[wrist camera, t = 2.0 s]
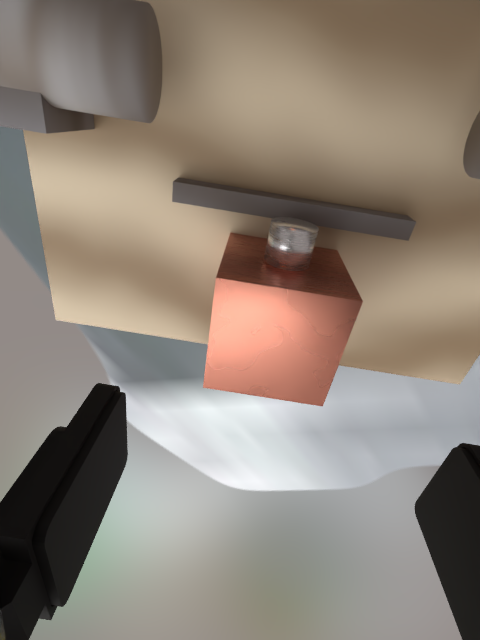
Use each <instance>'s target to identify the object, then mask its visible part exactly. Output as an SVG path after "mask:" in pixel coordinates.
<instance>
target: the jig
mask: <svg viewBox="0 0 480 640" xmlns="http://www.w3.org/2000/svg"><path fill="white" fill-rule="evenodd" d="M0 126H3V127H9V128H15V129H21V130H23V132H24V138H25V143H26V149H27V155H28V161H29V167H30V172H31V178H32V184H33V190H34V196H35V201H36V207H37V213H38V219H39V225H40V230H41V236H42V242H43V248H44V254H45V259H46V265H47V271H48V277H49V283H50V288H51V294H52V300H53V306H54V312H55V317H56V320H59V321H66V322H72V323H78V324H84V325H91V326H97V327H103V328H109V329H116V330H122V331H128V332H134V333H141V334H147V335H153V336H159V337H166V338H172V339H178V340H185V341H191V342H197V343H203V344H208V342H209V333H210V324H211V316H212V307H213V298H214V290H215V281H216V276H217V273H218V269H219V266H220V263H221V260H222V257H223V254H224V251H225V248H226V244H227V241H228V238H229V235H230V233H236V234H242V235H249V236H255V237H261V238H267V239H268V235H269V230H270V224H271V220H272V219H273V218H276V217H290V218H296V219H300V220H304V221H307V222H310V223H312V224H314V225H316V226H317V227H318V228H319V230H318V234H317V238H316V241H315V245H314V246H315V247H322V248H328V249H334V250H337V251H338V253H339V255H340V257H341V259H342V261H343V263H344V265H345V267H346V269H347V271H348V273H349V275H350V277H351V279H352V281H353V283H354V285H355V287H356V289H357V290H358V292H359V294H360V296H361V298H362V300H363V303H362V305H361V308H360V311H359V313H358V316H357V318H356V321H355V324H354V326H353V329H352V331H351V334H350V337H349V339H348V342H347V344H346V347H345V350H344V352H343V355H342V357H341V360H340V363H339V365H341V366H347V367H354V368H360V369H366V370H373V371H379V372H385V373H391V374H398V375H404V376H410V377H416V378H423V379H429V380H435V381H441V382H448V383H454V384H460V383H461V382H462V380H463V379H464V377H465V376H466V374H467V373H468V371H469V370H470V368H471V366H472V365H473V363H474V362H475V360H476V359H477V357H478V356H479V354H480V0H0Z"/></svg>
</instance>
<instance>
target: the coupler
mask: <svg viewBox="0 0 480 640" xmlns="http://www.w3.org/2000/svg"><path fill="white" fill-rule="evenodd" d="M318 230H319V228H318V227H317V226H316V225H314V224H312V223H310V222H307V221H304V220H300V219H296V218H290V217H276V218H273V219H272V220H271V224H270V230H269V235H268V239H267V238H261V237H255V236H249V235H242V234H236V233H230V235H229V238H228V241H227V244H226V248H225V251H224V254H223V257H222V260H221V263H220V266H219V269H218V273H217V276H216V281H215V290H214V298H213V307H212V316H211V324H210V333H209V342H208V350H207V359H206V367H205V376H204V385H203V388H210V389H216V390H222V391H229V392H235V393H241V394H248V395H254V396H260V397H267V398H273V399H279V400H286V401H292V402H298V403H305V404H311V405H318V406H323V404H324V402H325V399H326V396H327V394H328V391H329V389H330V386H331V383H332V381H333V378H334V376H335V373H336V370H337V368H338V365H339V363H340V360H341V357H342V355H343V352H344V350H345V347H346V344H347V342H348V339H349V337H350V334H351V331H352V329H353V326H354V324H355V321H356V318H357V316H358V313H359V311H360V308H361V305H362V303H363V300H362V298H361V296H360V294H359V292H358V290H357V289H356V287H355V285H354V283H353V281H352V279H351V277H350V275H349V273H348V271H347V269H346V267H345V265H344V263H343V261H342V259H341V257H340V255H339V253H338V251H337V250H334V249H328V248H322V247H315V246H314V245H315V241H316V238H317V234H318Z"/></svg>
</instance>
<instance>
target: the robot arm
mask: <svg viewBox="0 0 480 640" xmlns="http://www.w3.org/2000/svg"><path fill="white" fill-rule="evenodd" d="M126 423H127V422H126V395H125V393H123V392H120V388H119V386H113V385H107V384H101V383H98V384H96V385H95V386H94V388H93V389H92V391H91V392H90V394H89V395H88V397H87V398H86V399H85V401H84V402H83V404H82V405H81V407H80V408H79V410H78V411H77V413H76V414H75V416H74V417H73V419H72V420H71V422H70V423H69V425H68V426H67V427H57V428H55V429H54V430H53V431H52V432H51V433H50V434H49V436H48V437H47V438H46V440H45V441H44V443H43V444H42V445H41V447H40V448H39V450H38V451H37V452H36V454H35V455H34V456H33V458H32V459H31V460H30V462H29V463H28V465H27V466H26V467H25V469H24V470H23V472H22V473H21V474H20V476H19V477H18V479H17V480H16V481H15V483H14V484H13V486H12V487H11V488H10V490H9V491H8V493H7V494H6V495H5V497H4V498H3V500H2V501H1V502H0V640H29V638H30V636H31V634H32V631H33V629H34V627H35V625H36V623H37V621H38V619H39V618H40V619H46V620H51V619H52V617H53V615H54V612H55V610H56V608H57V606H61V607H63V606H64V605H65V604H66V602H67V600H68V598H69V596H70V594H71V592H72V589H73V587H74V585H75V583H76V580H77V578H78V575H79V573H80V571H81V568H82V566H83V564H84V561H85V559H86V557H87V554H88V552H89V550H90V547H91V545H92V543H93V540H94V538H95V536H96V533H97V531H98V529H99V526H100V524H101V522H102V519H103V517H104V515H105V512H106V510H107V508H108V505H109V503H110V501H111V498H112V496H113V493H114V491H115V489H116V486H117V484H118V482H119V480H120V477H121V475H122V472H123V470H124V468H125V465H126V461H127V455H128V452H127V424H126ZM415 514H416V517H417V519H418V522H419V525H420V528H421V530H422V533H423V536H424V538H425V541H426V544H427V546H428V549H429V552H430V554H431V557H432V560H433V562H434V565H435V568H436V570H437V573H438V576H439V578H440V581H441V584H442V586H443V589H444V591H445V594H446V597H447V600H448V602H449V605H450V608H451V610H452V613H453V616H454V618H455V621H456V623H457V626H458V629H459V632H460V634H461V637H462V639H463V640H480V446H478V445H472V444H466V443H462V444H460V445H459V446H458V447H455V448H453V449H452V450H451V452H450V453H449V455H448V456H447V458H446V459H445V461H444V462H443V463H442V465H441V466H440V468H439V469H438V471H437V472H436V474H435V475H434V477H433V478H432V479H431V481H430V482H429V484H428V485H427V487H426V488H425V490H424V491H423V492H422V494H421V495H420V497H419V498H418V500H417V501H416V503H415Z"/></svg>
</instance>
